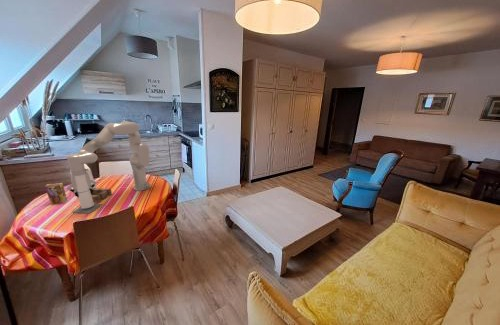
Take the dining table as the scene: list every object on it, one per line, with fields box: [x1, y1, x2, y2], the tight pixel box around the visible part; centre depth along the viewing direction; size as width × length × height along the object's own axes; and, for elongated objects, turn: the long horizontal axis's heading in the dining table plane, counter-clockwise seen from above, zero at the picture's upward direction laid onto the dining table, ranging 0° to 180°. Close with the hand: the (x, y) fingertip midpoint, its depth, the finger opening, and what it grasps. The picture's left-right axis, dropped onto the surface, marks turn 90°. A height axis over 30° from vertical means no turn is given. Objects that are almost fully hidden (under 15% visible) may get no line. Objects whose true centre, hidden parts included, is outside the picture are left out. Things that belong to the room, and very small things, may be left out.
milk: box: [69, 164, 97, 188], centre depth 168 cm, size 12×12×26 cm
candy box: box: [44, 182, 68, 205], centre depth 149 cm, size 9×4×15 cm, turn 107°
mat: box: [72, 203, 103, 215], centre depth 144 cm, size 12×12×1 cm
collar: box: [91, 187, 113, 204], centre depth 159 cm, size 15×15×5 cm
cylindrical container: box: [74, 174, 95, 209], centre depth 140 cm, size 7×7×25 cm
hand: (84, 195), depth 141 cm, fingers closed on cylindrical container, 7 cm apart
